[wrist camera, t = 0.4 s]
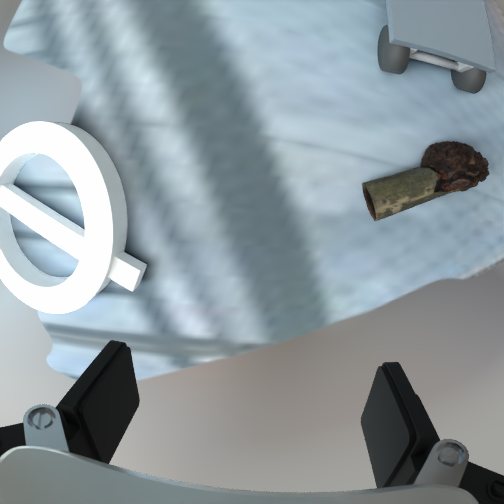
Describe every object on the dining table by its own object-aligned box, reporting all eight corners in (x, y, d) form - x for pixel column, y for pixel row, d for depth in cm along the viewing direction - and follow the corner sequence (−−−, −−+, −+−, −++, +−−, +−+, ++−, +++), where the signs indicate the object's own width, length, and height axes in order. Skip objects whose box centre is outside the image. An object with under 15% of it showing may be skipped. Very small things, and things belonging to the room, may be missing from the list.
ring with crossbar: (-17, 169, 40) (-35, 172, 35) (96, 89, 36) (77, 83, 31) (33, 313, 47) (18, 325, 42) (158, 278, 43) (145, 292, 38)
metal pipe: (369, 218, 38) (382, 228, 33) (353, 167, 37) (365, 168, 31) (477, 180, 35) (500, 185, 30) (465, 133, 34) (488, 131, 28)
